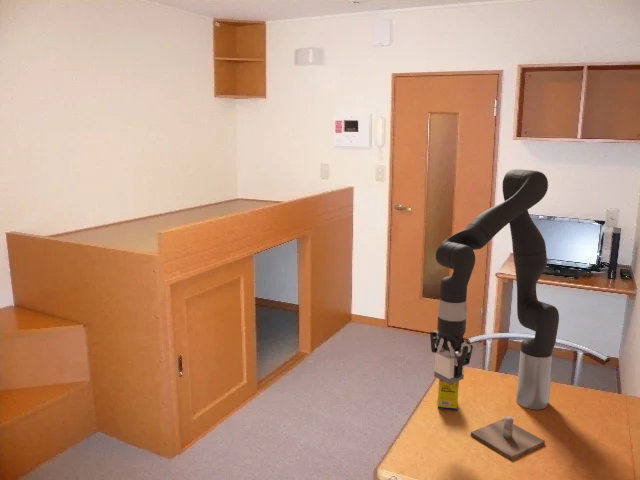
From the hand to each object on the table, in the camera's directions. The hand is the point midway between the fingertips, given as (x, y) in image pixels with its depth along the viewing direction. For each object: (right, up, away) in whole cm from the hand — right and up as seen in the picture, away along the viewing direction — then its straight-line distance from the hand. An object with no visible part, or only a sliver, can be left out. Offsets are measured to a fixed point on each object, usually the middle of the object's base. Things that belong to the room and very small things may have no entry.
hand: (448, 372), depth 154 cm
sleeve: (0, -1, 0) cm, 1 cm away
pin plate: (+17, -19, +2) cm, 25 cm away
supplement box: (+4, -15, +21) cm, 26 cm away
